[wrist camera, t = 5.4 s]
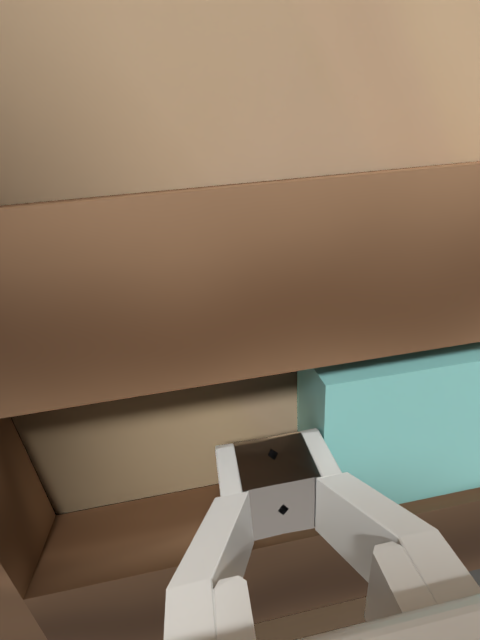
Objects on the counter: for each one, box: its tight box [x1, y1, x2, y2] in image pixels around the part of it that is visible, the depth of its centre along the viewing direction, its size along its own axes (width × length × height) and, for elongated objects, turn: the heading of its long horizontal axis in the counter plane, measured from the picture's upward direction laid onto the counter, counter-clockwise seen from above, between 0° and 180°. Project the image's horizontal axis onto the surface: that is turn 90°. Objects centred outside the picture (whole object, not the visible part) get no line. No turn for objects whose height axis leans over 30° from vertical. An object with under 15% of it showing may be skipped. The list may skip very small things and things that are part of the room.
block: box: [297, 342, 480, 504], centre depth 11 cm, size 5×8×2 cm, turn 95°
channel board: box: [0, 161, 480, 640], centre depth 10 cm, size 14×18×2 cm
